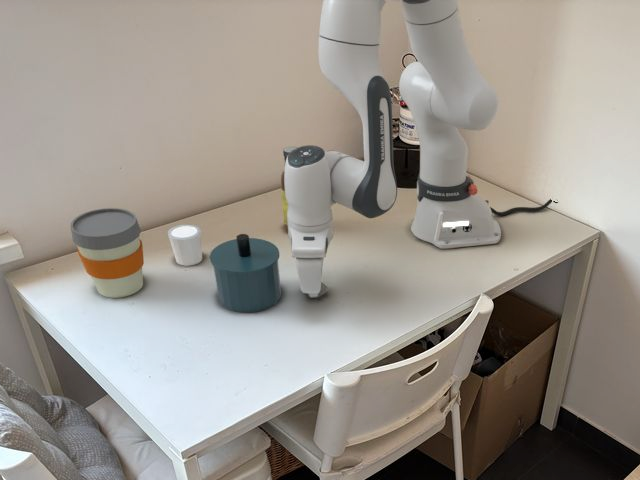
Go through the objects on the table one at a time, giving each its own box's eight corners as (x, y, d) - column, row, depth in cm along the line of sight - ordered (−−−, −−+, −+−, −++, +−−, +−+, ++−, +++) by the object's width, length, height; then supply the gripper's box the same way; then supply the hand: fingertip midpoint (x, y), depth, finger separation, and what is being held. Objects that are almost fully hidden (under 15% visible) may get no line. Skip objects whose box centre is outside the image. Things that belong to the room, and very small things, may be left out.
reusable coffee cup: (165, 283, 151) (151, 219, 142) (114, 309, 142) (96, 243, 133) (126, 264, 156) (110, 201, 146) (74, 288, 147) (54, 223, 138)
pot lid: (282, 242, 150) (280, 220, 147) (276, 276, 139) (274, 254, 136) (215, 242, 148) (212, 220, 145) (205, 276, 137) (201, 254, 134)
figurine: (331, 293, 152) (330, 269, 148) (320, 303, 148) (318, 279, 145) (309, 287, 153) (308, 263, 149) (298, 297, 150) (296, 272, 146)
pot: (283, 279, 155) (279, 241, 149) (278, 312, 145) (274, 272, 139) (223, 279, 153) (217, 241, 147) (214, 312, 143) (208, 272, 138)
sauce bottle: (305, 235, 171) (300, 157, 159) (280, 232, 171) (273, 153, 159) (313, 223, 176) (309, 146, 164) (289, 220, 176) (283, 143, 164)
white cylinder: (211, 257, 160) (207, 230, 156) (188, 270, 155) (183, 242, 151) (189, 248, 163) (184, 221, 158) (166, 260, 158) (160, 232, 154)
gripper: (297, 205, 149) (301, 262, 157) (291, 254, 133) (296, 315, 141) (328, 205, 150) (330, 262, 158) (325, 254, 134) (328, 314, 142)
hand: (314, 287), depth 150 cm, fingers closed on figurine, 4 cm apart
